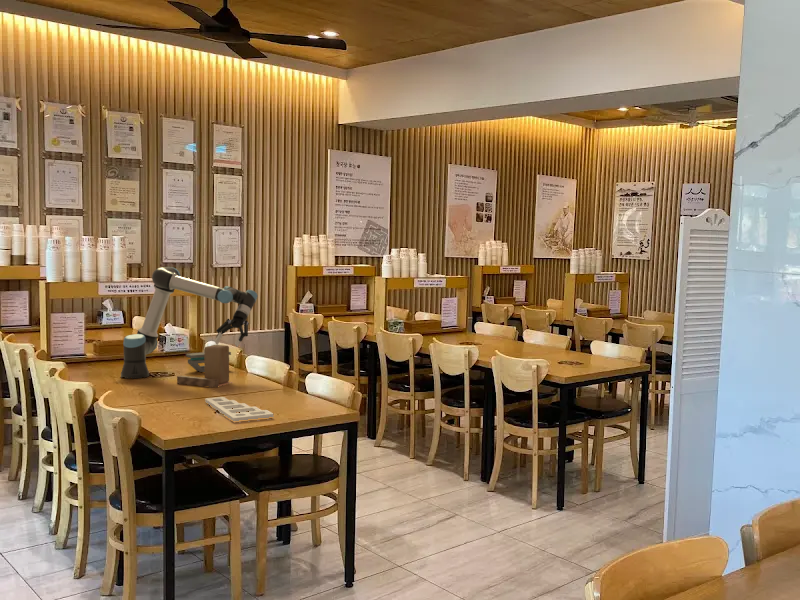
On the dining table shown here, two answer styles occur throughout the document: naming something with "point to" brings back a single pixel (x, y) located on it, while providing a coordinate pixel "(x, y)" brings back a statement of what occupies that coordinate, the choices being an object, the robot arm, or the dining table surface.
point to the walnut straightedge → (197, 381)
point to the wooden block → (217, 362)
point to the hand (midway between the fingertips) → (226, 344)
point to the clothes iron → (197, 361)
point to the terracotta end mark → (225, 383)
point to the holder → (237, 409)
